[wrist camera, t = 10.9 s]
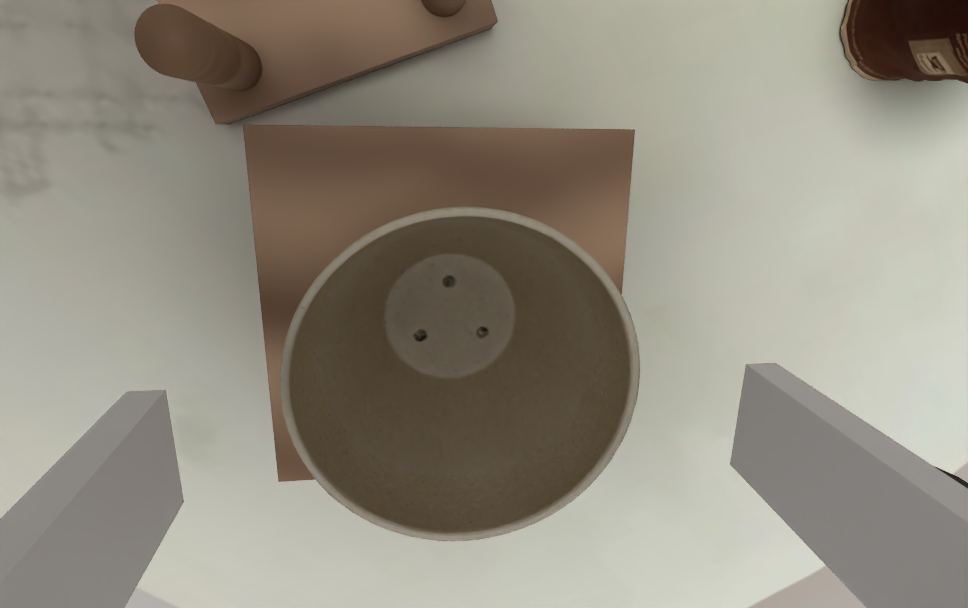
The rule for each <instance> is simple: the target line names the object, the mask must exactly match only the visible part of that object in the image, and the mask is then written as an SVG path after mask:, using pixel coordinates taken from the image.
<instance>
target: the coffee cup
mask: <svg viewBox="0 0 968 608" xmlns="http://www.w3.org/2000/svg"><path fill="white" fill-rule="evenodd" d="M841 37H842V41H843V44H844V47H845V55H846V58H847V59H848V60H849V61H850V62H851V66H852V69H853V70H855V71H856V72H858V73H859V74H860V75H861V76H862V77H864V78H867V79H870V80H881V81H896V80H900V79H904V78H905V79H909V80H913V81H924V80H927V81H941V80H959V81H962V82H965V83H968V0H850V1H849V3H848V5H847V11H846V15H845V18H844V21H843V24H842V26H841Z"/></svg>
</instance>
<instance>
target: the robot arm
mask: <svg viewBox="0 0 968 608" xmlns="http://www.w3.org/2000/svg"><path fill="white" fill-rule="evenodd" d="M730 465H731V466H732V467H733V468H734V469H735V470H736V471H737V472H738V473H739V474H740V475H741V476H742V477H743V478H744V479H745V481H746V482H747V483H748V484H749V485H750V486H751V487H752V488H753V489H754V490H755V491H756V492H757V493H758V494H759V495H760V496H761V497H762V498H763V499H764V500H765V502H766V503H767V504H768V505H769V506H770V507H771V508H772V509H773V510H774V511H775V512H776V513H777V514H778V515H779V516H780V517H781V518H782V519H783V520H784V521H785V523H786V524H787V525H788V526H789V527H790V528H791V529H792V530H793V531H794V532H795V533H796V534H797V535H798V536H799V537H800V538H801V539H802V540H803V541H804V542H805V544H806V545H807V546H808V547H809V548H810V549H811V550H812V551H813V552H814V553H815V554H816V555H817V556H818V557H819V558H820V559H821V560H822V561H823V562H824V563H825V565H826V566H827V567H828V568H829V569H830V570H831V571H832V572H833V573H834V574H835V575H836V576H837V577H838V578H839V579H840V580H841V581H842V582H843V583H844V584H845V585H846V587H847V588H848V589H849V590H850V591H851V592H852V593H853V594H854V595H855V596H856V597H857V598H858V599H859V600H860V601H861V602H862V603H863V604H864V605H865V606H866V608H968V483H967V482H965V481H964V480H962V479H960V478H959V477H957V476H955V475H953V474H950V473H948V472H946V471H944V470H941V469H939V468H937V467H934V466H932V465H931V464H929V463H928V462H926V461H925V460H923V459H922V458H920V457H919V456H917V455H915V454H914V453H912V452H911V451H909V450H908V449H906V448H905V447H903V446H902V445H900V444H899V443H897V442H896V441H894V440H893V439H891V438H890V437H888V436H886V435H885V434H883V433H882V432H880V431H879V430H877V429H876V428H874V427H873V426H871V425H870V424H868V423H867V422H865V421H864V420H862V419H860V418H859V417H857V416H856V415H854V414H853V413H851V412H850V411H848V410H847V409H845V408H844V407H842V406H841V405H839V404H838V403H836V402H834V401H833V400H831V399H830V398H828V397H827V396H825V395H824V394H822V393H821V392H819V391H818V390H816V389H815V388H813V387H812V386H810V385H808V384H807V383H805V382H804V381H802V380H801V379H799V378H798V377H796V376H795V375H793V374H792V373H790V372H789V371H787V370H786V369H784V368H782V367H781V366H779V365H778V364H776V363H763V364H746V368H745V374H744V380H743V386H742V393H741V399H740V405H739V412H738V418H737V424H736V430H735V437H734V443H733V449H732V455H731V462H730ZM183 502H184V500H183V494H182V488H181V481H180V475H179V469H178V463H177V457H176V451H175V445H174V438H173V432H172V426H171V420H170V414H169V408H168V402H167V395H166V390H153V391H130V392H126V393H125V394H124V395H123V396H122V397H121V398H120V399H119V400H118V401H117V402H116V403H115V404H114V405H113V406H112V407H111V408H110V409H109V410H108V411H107V412H106V413H105V414H104V415H103V416H102V417H101V418H100V419H99V420H98V421H97V422H96V423H95V424H94V425H93V426H92V427H91V428H90V429H89V430H88V431H87V432H86V433H85V434H84V435H83V436H82V437H81V438H80V439H79V440H78V441H77V442H76V443H75V444H74V445H73V446H72V447H71V448H70V449H69V450H68V451H67V452H66V453H65V454H64V455H63V456H62V457H61V458H60V459H59V460H58V461H57V462H56V463H55V464H54V465H53V466H52V467H51V468H50V469H49V471H48V472H47V473H46V474H45V475H44V476H43V477H42V478H41V479H40V480H39V481H38V482H37V483H36V484H35V485H34V486H33V487H32V488H31V489H30V490H29V491H28V492H27V493H26V494H25V495H24V496H23V497H22V498H21V499H20V500H19V501H18V502H17V503H16V504H15V505H14V506H13V507H12V508H11V509H10V510H9V511H8V512H7V513H6V514H5V515H4V516H3V517H2V518H1V519H0V608H125V606H126V604H127V602H128V600H129V598H130V597H131V595H132V593H133V591H134V590H135V588H136V586H137V584H138V583H139V581H140V579H141V577H142V575H143V574H144V572H145V570H146V568H147V566H148V565H149V563H150V561H151V559H152V558H153V556H154V554H155V552H156V550H157V549H158V547H159V545H160V543H161V541H162V540H163V538H164V536H165V534H166V533H167V531H168V529H169V527H170V525H171V524H172V522H173V520H174V518H175V516H176V515H177V513H178V511H179V509H180V508H181V506H182V504H183Z"/></svg>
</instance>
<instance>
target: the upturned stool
mask: <svg viewBox="0 0 968 608" xmlns="http://www.w3.org/2000/svg"><path fill="white" fill-rule="evenodd" d="M157 1H158V4H157V5H154V6H152V7H150V8H148V9H147V10H145V11H144V12H143V13H142V14H141V16H140V17H139V19H138V21H137V23H136V27H135V42H136V46H137V49H138V51H139V53H140V55H141V57H142V58H143V60H144V61H145V62H146V63H147V64H148V65H149V66H150V67H151V68H152V69H154V70H155V71H157V72H159V73H161V74H163V75H167V76H171V77H175V78H180V79H184V80H189V81H193V82H196V83H197V86H198V88H199V90H200V92H201V94H202V96H203V98H204V100H205V102H206V105H207V107H208V109H209V111H210V113H211V115H212V117H213V119H214V121H215V123H216V124H231V123H233V122H236V121H239V120H242V119H244V118H247V117H250V116H253V115H255V114H258V113H261V112H264V111H266V110H269V109H272V108H274V107H277V106H280V105H283V104H285V103H288V102H291V101H294V100H296V99H299V98H302V97H305V96H307V95H310V94H313V93H316V92H318V91H321V90H324V89H327V88H329V87H332V86H335V85H337V84H340V83H343V82H346V81H348V80H351V79H354V78H357V77H359V76H362V75H365V74H368V73H370V72H373V71H376V70H379V69H381V68H384V67H387V66H390V65H392V64H395V63H398V62H400V61H403V60H406V59H409V58H411V57H414V56H417V55H420V54H422V53H425V52H428V51H431V50H433V49H436V48H439V47H442V46H444V45H447V44H450V43H453V42H455V41H458V40H461V39H464V38H466V37H469V36H472V35H474V34H477V33H480V32H483V31H485V30H488V29H491V28H492V27H493V26H494V25H495V24H496V23H497V22H498V20H497V17H496V14H495V11H494V7H493V4H492V1H491V0H157Z"/></svg>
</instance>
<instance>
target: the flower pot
mask: <svg viewBox="0 0 968 608" xmlns="http://www.w3.org/2000/svg"><path fill="white" fill-rule="evenodd" d="M444 278H447V279H448V282H449V283H448V285H447V286H445V284H444V282H443V280H444ZM481 327H485V328H486V329H487V330H486V331H483V330H481ZM422 335H426V337H425V338H424V339H423V340H419V338H420V337H421V336H422ZM639 378H640V360H639V349H638V342H637V336H636V333H635V328H634V325H633V322H632V318H631V315H630V313H629V311H628V309H627V306H626V304H625V301H624V299H623V297H622V296H621V294H620V292H619V290H618V289H617V287H616V285H615V284H614V282H613V281H612V280H611V278H610V277H609V275H608V274H607V272H606V271H605V270H604V269H603V267H602V266H601V265H600V264H599V263H598V262H597V261H596V260H595V259H594V258H593V257H592V256H591V255H590V254H589V253H588V252H587V251H586V250H585V249H583V248H582V247H581V246H580V245H579V244H577V243H576V242H575V241H573V240H572V239H570V238H569V237H567V236H566V235H564V234H563V233H561V232H559V231H558V230H556V229H554V228H552V227H550V226H548V225H546V224H544V223H542V222H540V221H537V220H534V219H532V218H529V217H526V216H523V215H520V214H516V213H512V212H508V211H503V210H497V209H491V208H482V207H472V206H459V207H445V208H437V209H431V210H426V211H421V212H418V213H414V214H410V215H407V216H404V217H401V218H399V219H396V220H394V221H391V222H389V223H387V224H384V225H382V226H380V227H378V228H376V229H374V230H372V231H371V232H369V233H368V234H366V235H364V236H363V237H361V238H360V239H358V240H357V241H355V242H354V243H353V244H351V245H350V246H349V247H347V248H346V249H345V250H343V251H342V252H341V253H340V254H339V255H337V256H336V257H335V258H334V259H333V260H332V261H331V262H330V264H329V265H328V266H327V267H325V269H324V270H323V271H322V272H321V274H320V275H319V276H318V277H317V278H316V279H315V281H314V282H313V283H312V285H311V286H310V288H309V289H308V291H307V292H306V294H305V295H304V297H303V299H302V300H301V302H300V304H299V306H298V308H297V310H296V312H295V314H294V316H293V319H292V321H291V324H290V327H289V329H288V332H287V336H286V339H285V344H284V348H283V352H282V359H281V366H280V398H281V404H282V410H283V414H284V418H285V423H286V426H287V429H288V432H289V434H290V437H291V439H292V442H293V444H294V447H295V448H296V450H297V452H298V454H299V456H300V458H301V459H302V461H303V463H304V464H305V466H306V467H307V469H308V470H309V471H310V473H311V474H312V475H313V477H314V478H315V479H316V480H317V482H318V483H319V484H320V485H321V486H322V487H323V488H324V489H325V490H326V491H327V492H328V494H329V495H331V496H332V497H333V498H334V499H336V500H337V501H338V502H339V503H341V504H342V505H343V506H345V507H346V508H347V509H349V510H350V511H352V512H353V513H355V514H357V515H358V516H360V517H362V518H364V519H366V520H367V521H369V522H371V523H373V524H375V525H377V526H380V527H383V528H385V529H388V530H390V531H394V532H397V533H400V534H404V535H408V536H411V537H417V538H422V539H429V540H438V541H468V540H478V539H484V538H489V537H494V536H499V535H502V534H506V533H510V532H513V531H516V530H519V529H522V528H524V527H527V526H529V525H532V524H534V523H536V522H538V521H540V520H542V519H544V518H546V517H548V516H550V515H551V514H553V513H555V512H556V511H558V510H560V509H561V508H563V507H564V506H566V505H567V504H568V503H570V502H571V501H573V500H574V499H575V498H576V497H577V496H579V495H580V494H581V493H582V492H583V491H584V490H586V489H587V488H588V487H589V486H590V485H591V483H592V482H593V481H594V480H595V479H596V478H597V477H598V476H599V474H600V473H601V472H602V471H603V470H604V469H605V467H606V466H607V465H608V463H609V462H610V460H611V459H612V457H613V456H614V454H615V452H616V450H617V449H618V447H619V446H620V444H621V442H622V440H623V438H624V436H625V434H626V432H627V429H628V427H629V424H630V422H631V418H632V414H633V411H634V408H635V404H636V401H637V395H638V388H639Z"/></svg>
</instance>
